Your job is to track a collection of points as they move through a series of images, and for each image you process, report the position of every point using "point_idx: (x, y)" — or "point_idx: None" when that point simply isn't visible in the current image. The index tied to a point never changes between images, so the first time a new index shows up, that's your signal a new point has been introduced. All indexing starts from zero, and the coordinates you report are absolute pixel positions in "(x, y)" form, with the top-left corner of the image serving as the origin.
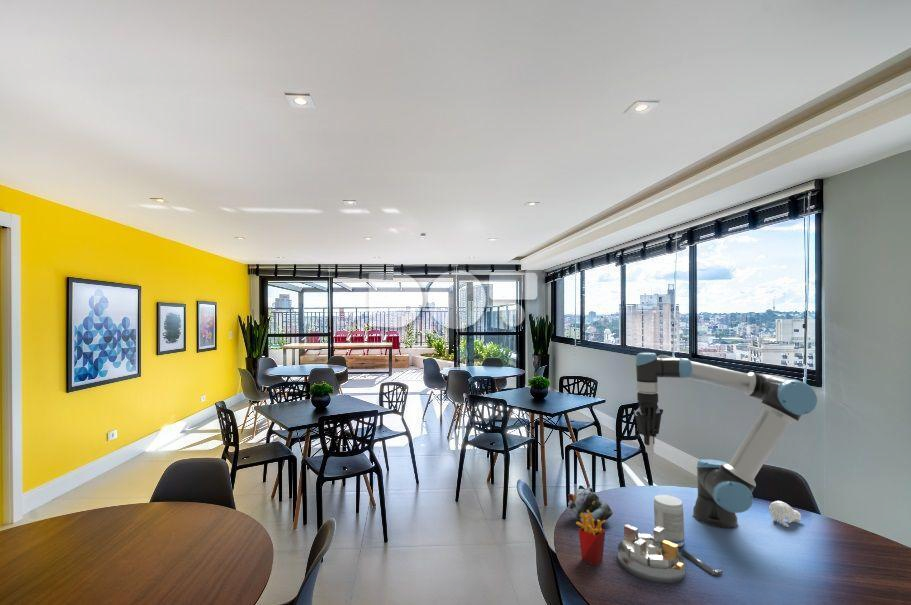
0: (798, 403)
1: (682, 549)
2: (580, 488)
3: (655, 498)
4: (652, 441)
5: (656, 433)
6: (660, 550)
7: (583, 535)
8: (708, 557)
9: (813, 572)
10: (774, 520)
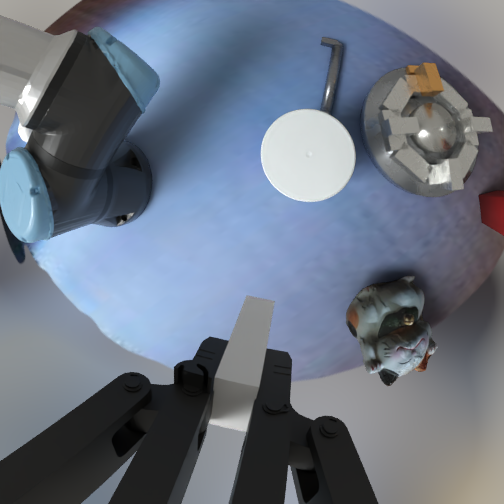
0: None
1: (327, 112)
2: (394, 377)
3: (338, 186)
4: (237, 350)
5: (150, 385)
6: (431, 103)
7: None
8: (286, 80)
9: (162, 5)
10: None
